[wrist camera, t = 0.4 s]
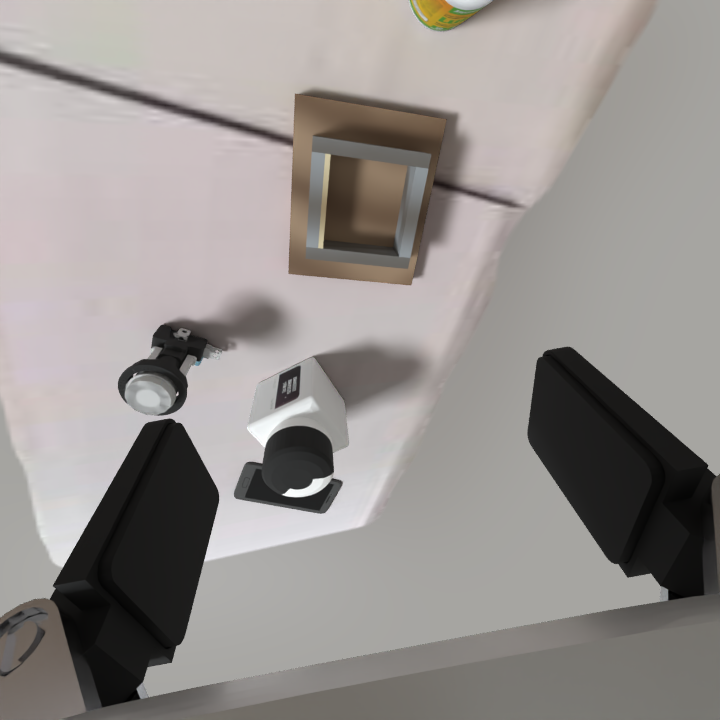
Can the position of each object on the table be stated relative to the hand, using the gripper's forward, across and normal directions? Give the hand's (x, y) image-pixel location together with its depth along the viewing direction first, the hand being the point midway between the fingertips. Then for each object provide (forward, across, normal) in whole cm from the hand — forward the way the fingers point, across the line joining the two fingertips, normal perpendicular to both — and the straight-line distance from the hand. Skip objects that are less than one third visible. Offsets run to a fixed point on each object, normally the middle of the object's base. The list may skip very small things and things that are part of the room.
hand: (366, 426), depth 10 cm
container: (+29, +7, +19) cm, 35 cm away
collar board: (+29, -3, -1) cm, 29 cm away
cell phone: (+29, +13, +35) cm, 48 cm away
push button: (+29, +17, +10) cm, 35 cm away
